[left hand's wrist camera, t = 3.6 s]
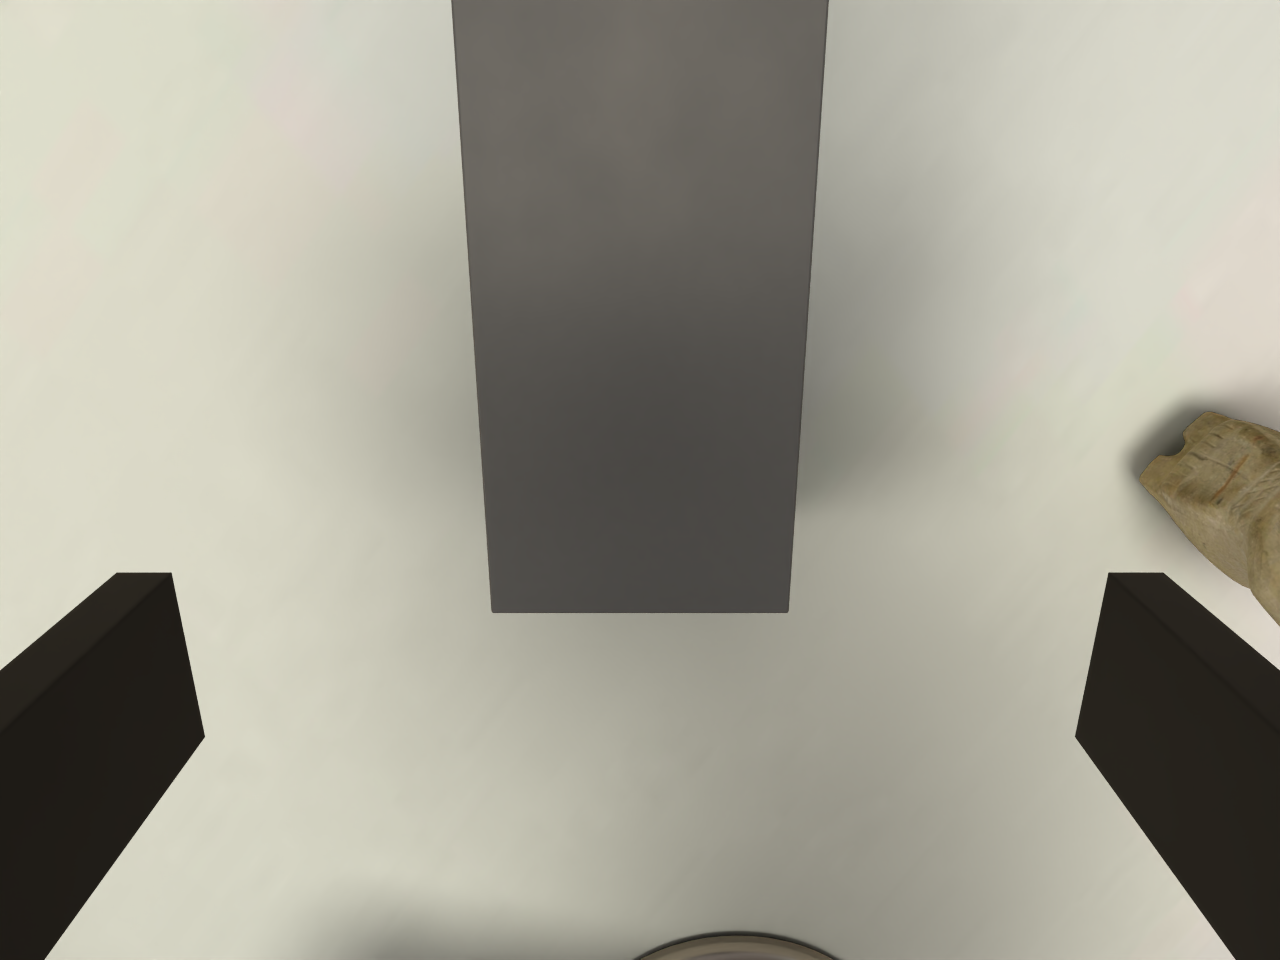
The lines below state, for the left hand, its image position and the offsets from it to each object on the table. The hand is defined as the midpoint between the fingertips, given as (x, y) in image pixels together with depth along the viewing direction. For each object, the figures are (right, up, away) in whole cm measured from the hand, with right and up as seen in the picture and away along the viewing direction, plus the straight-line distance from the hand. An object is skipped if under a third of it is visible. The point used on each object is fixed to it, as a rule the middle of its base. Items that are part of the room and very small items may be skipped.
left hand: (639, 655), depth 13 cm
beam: (0, +38, +8) cm, 39 cm away
